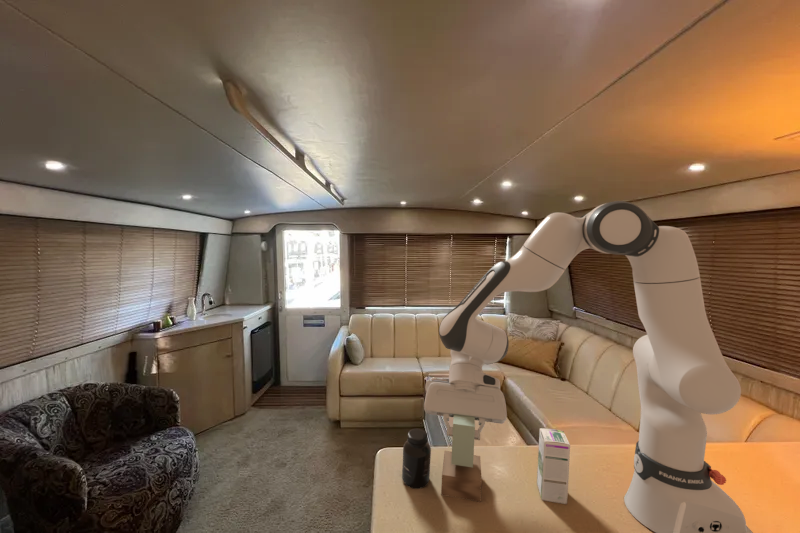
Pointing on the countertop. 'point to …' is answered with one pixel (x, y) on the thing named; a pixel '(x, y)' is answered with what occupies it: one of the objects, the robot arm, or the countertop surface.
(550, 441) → the syrup box
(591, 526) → the countertop surface
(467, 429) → the sage block
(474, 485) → the block
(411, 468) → the supplement bottle
